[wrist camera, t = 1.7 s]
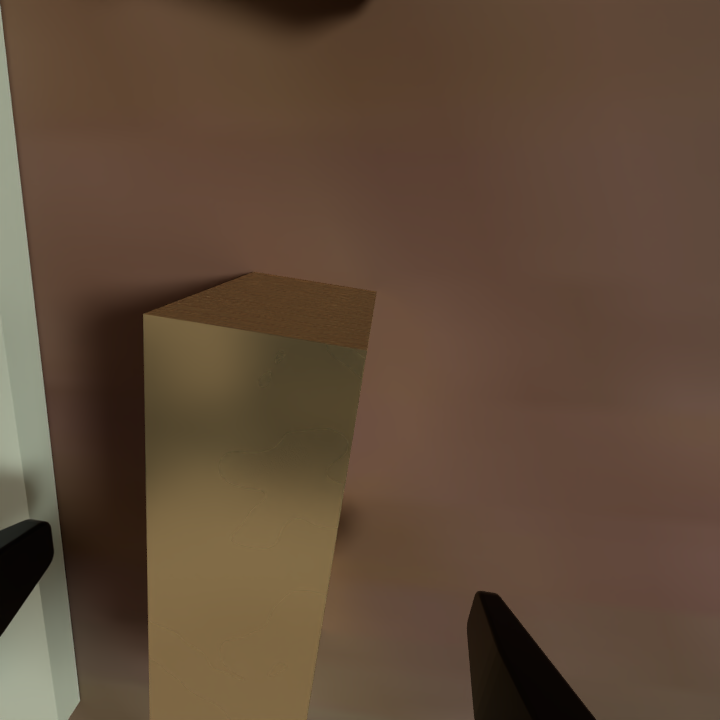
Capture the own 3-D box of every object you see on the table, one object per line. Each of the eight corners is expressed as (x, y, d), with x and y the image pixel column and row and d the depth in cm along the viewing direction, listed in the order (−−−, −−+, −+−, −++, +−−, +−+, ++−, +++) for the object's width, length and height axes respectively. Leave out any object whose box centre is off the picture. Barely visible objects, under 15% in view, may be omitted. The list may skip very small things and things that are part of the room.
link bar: (376, 290, 10) (366, 350, 6) (322, 622, 14) (288, 833, 9) (255, 271, 10) (143, 313, 6) (232, 607, 14) (151, 808, 9)
